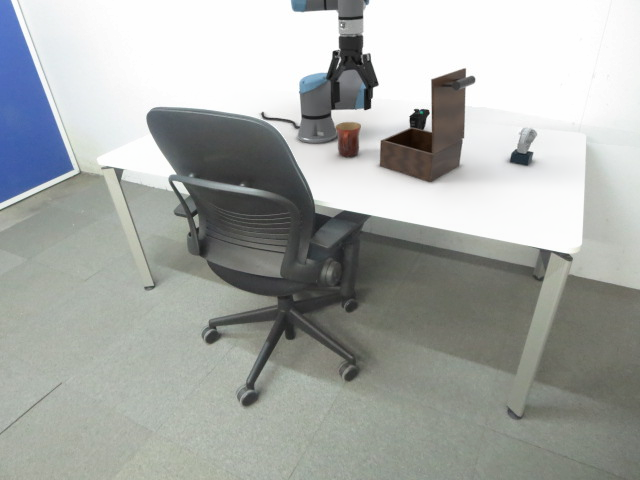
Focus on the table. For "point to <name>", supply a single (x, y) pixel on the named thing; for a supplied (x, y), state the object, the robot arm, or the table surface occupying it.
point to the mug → (348, 138)
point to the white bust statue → (524, 147)
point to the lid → (448, 108)
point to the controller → (419, 118)
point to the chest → (418, 155)
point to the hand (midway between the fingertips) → (351, 105)
